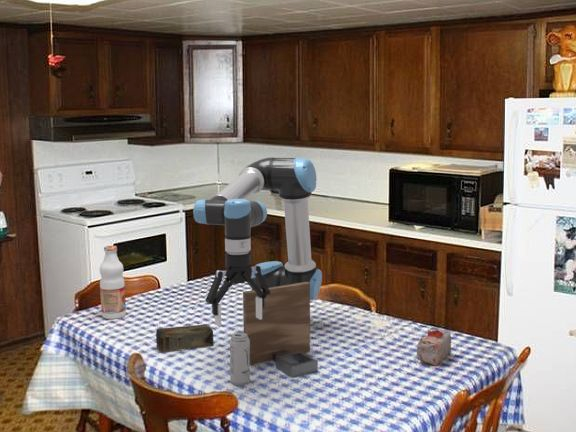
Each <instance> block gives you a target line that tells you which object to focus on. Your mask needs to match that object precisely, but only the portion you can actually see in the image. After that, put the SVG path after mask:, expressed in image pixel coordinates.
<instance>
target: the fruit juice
mask: <svg viewBox="0 0 576 432" xmlns="http://www.w3.org/2000/svg"><path fill="white" fill-rule="evenodd" d="M103 251H104V253H105V254H104V258H103V260H102V262H101V264H100V265H99V274H100V281H99V290H100V291H99V292H100V312H101V317H102V318H103V319H106V320H115V319H121V318H124V317H125V316H126V313H127V310H126V309H127V307H126V305H127V304H126V287H125V285H126V284H125V278H124V275H123V274H124V265H123V263H122V262H121V261H120V260H119V257H118V253H117V251H118V247H117V245H106V246H104V248H103Z"/></svg>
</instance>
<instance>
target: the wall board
mask: <svg viewBox="0 0 576 432" xmlns="http://www.w3.org/2000/svg"><path fill="white" fill-rule="evenodd" d="M269 290H270V294H269V295H266V298H264V307H263V308H262V319H261V320H260V319H258V318H256V296H258V294H257V293H256V292H255V291H254V290H252V289H251V290H246V291H243V292H242V306H243V310H242V311H243V312H242V313H243V317H242V318H243V333H246V334H247V335H248V338H249V340H250V366H251V365H255V364H260V363H264V362H270V361H274V360H273V352H278V351H283V350H287V351H289V352H290V353H296V352H301V351H302V352H304V353H305V354H307V353H310V352H311V300H310V283H309V282H302V283H295V284H289V285H283V286H277V287H271V288H269ZM261 291H262V289H261ZM258 297H259V296H258Z"/></svg>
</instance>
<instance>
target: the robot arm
mask: <svg viewBox="0 0 576 432" xmlns="http://www.w3.org/2000/svg"><path fill="white" fill-rule="evenodd" d="M316 187H317V171H316V167H315V165H314V163H313V162H312V161H311V160H310V159H308V158H301V157H266V158H261V159H258V160H257V161H254V162H252V163H250V164H248V165H246V166H245V167H244V168H242V169H241V170H240V172H239V175H238V176H237V177H236V178H235V179H234V180H233V181H231V182H230V183H229V184H227V185H226V186H225V187H224V188H222V189H221V190H220V191H219V192H217V193H216V194H214V196H213V197H211V198H210V199H206V198H205V199H198V200H197V201H196V202H195V203H194V205H193V210H192V212H193V219H194V221H195V222H196V223H197V224H204V225H216V226H224V251H225V254H224V256H225V258H224V259H225V260H224V262H225V268H224V269H225V270H219V269H216V270H215V273H214V279H213V281H212V283H211V286H210V288H209V290H208V292H207V295H206V297H205V302H206V303H208V304H209V305H211V313H212V315H213V316H214V325H215V326H217V328H220V327H222V305H221V304H220V302H221V301H222V299H223V298H224V297H225V296H226V293H228V290H230V288H232V286H233V285H238V284H245V283H247V285H248V286H250V288H251V291H252V290H254V291H255V292H256V293H257V294H258V296H259V297H258V296H256V318H258V319H260V320H261V319H262V308H263V307H264V298H266V295H269V294H270V290H269V288H271V287H277V286H283V285H289V284H295V283H302V282H309V283H310V301H314V300H316V299H317V297H318V295H319V293H320V290H321V285H322V281H323V280H322V279H323V272H322V271H321V269H319V268H317V265H316V262H315V261H314V260H313V259H312V248H311V246H312V245H311V233H310V232H311V231H310V217H309V199H310V197H312V195H313V194H312V192H314V191H315V190H316ZM260 191H278V197H279V199H281V200H282V201H283V206H284V207H283V208H284V210H283V211H284V220H285V221H284V223H285V234H286V235H285V236H286V248H287V249H286V251H287V260H288V261H287V262H285V264H284V265H283V262H281V261H277V260H275V261H274V260H273V261H265V262H260V263H257V264H254V265H253V266H251V264H252V254H251V252H250V251H252V250H251V249H252V248H251V246H252V245H251V241H252V240H251V233H252V232H251V229H252V228H253V227H257V226H260V225H261V224H262V223H263V222H265V220H266V219H267V216H268V210H267V207H266V205H265V204H264V203H263V202H262V201H260V200H249V199H248V198H249V197H250V196H252V195H253V194H257V193H260ZM224 277H226V278H225V279H224ZM223 279H224V280H223ZM222 281H223V283H222ZM221 284H222V285H221ZM261 289H262V291H261Z"/></svg>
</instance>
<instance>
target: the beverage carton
mask: <svg viewBox="0 0 576 432" xmlns="http://www.w3.org/2000/svg"><path fill="white" fill-rule="evenodd" d="M155 341H156V342H155V344H156V347H157V348H158V351H159V353H166V352H172V351H180V350H181V351H182V349H183V350H190V349H189V348H191V349H198V347H199V348H206V347H205V346H207V347H211V346H212V347H213V346H214V330H213V329H212V327H211V326H210V324H209V323H204V324H196V325H185V326H184V325H183V326H174V327H164V328H158V329H157V328H156V330H155Z"/></svg>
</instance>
